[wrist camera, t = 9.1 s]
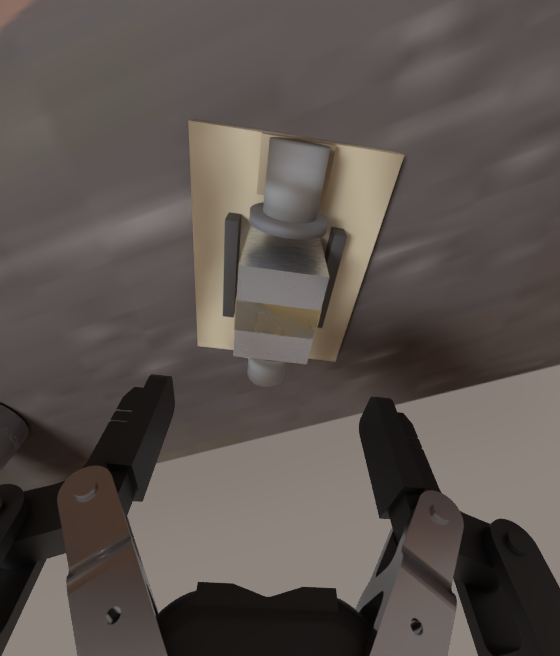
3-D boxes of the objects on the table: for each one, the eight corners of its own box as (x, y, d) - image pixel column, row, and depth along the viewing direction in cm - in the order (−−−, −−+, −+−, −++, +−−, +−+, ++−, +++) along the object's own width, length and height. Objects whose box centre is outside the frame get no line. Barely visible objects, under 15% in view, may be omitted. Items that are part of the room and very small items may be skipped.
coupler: (249, 224, 19) (237, 264, 15) (320, 234, 20) (330, 277, 15) (244, 303, 23) (232, 355, 18) (303, 310, 23) (307, 364, 18)
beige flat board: (201, 337, 27) (183, 385, 22) (194, 119, 17) (159, 125, 12) (333, 352, 27) (342, 402, 23) (398, 152, 18) (436, 169, 13)
